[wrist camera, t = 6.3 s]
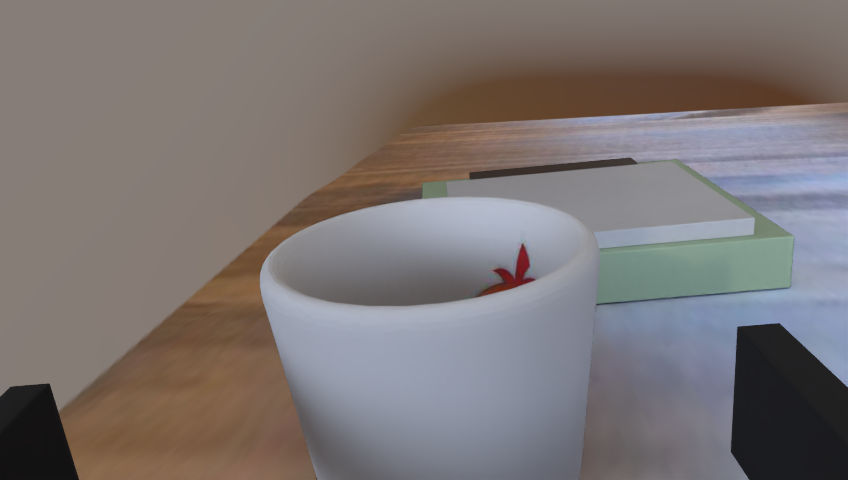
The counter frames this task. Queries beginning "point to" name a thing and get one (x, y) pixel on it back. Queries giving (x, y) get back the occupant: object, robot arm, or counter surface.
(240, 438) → the counter surface
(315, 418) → the cup
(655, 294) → the scale
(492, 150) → the counter surface
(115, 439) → the counter surface
